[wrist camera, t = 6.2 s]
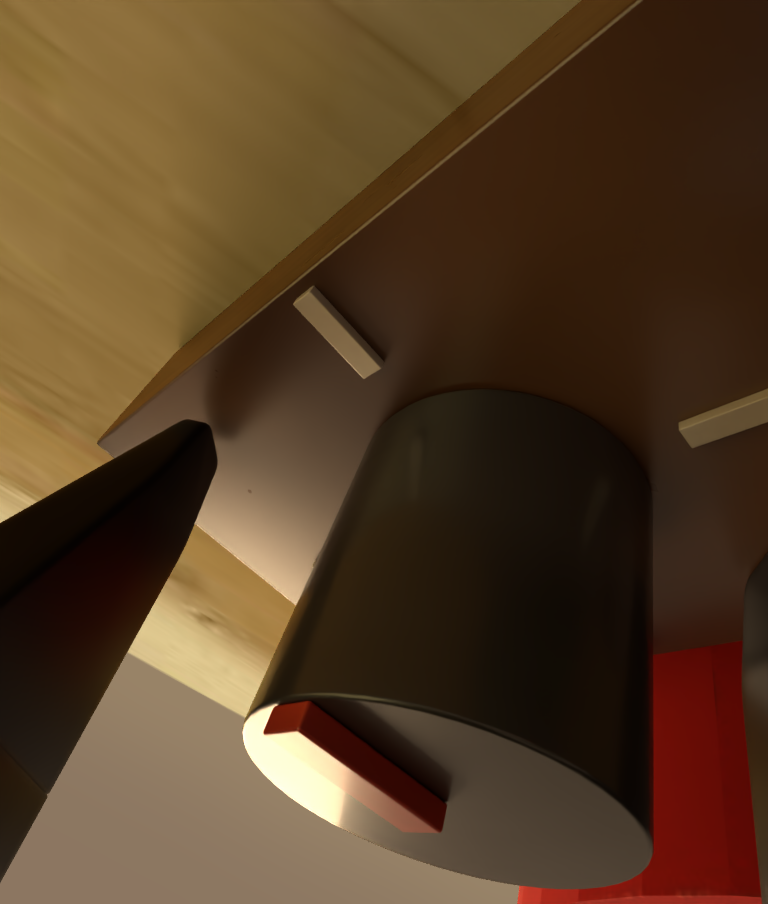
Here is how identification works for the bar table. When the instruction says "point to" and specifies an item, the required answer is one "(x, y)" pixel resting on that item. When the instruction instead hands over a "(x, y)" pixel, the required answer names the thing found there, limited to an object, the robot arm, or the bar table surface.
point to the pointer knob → (478, 649)
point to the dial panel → (526, 301)
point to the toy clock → (692, 791)
